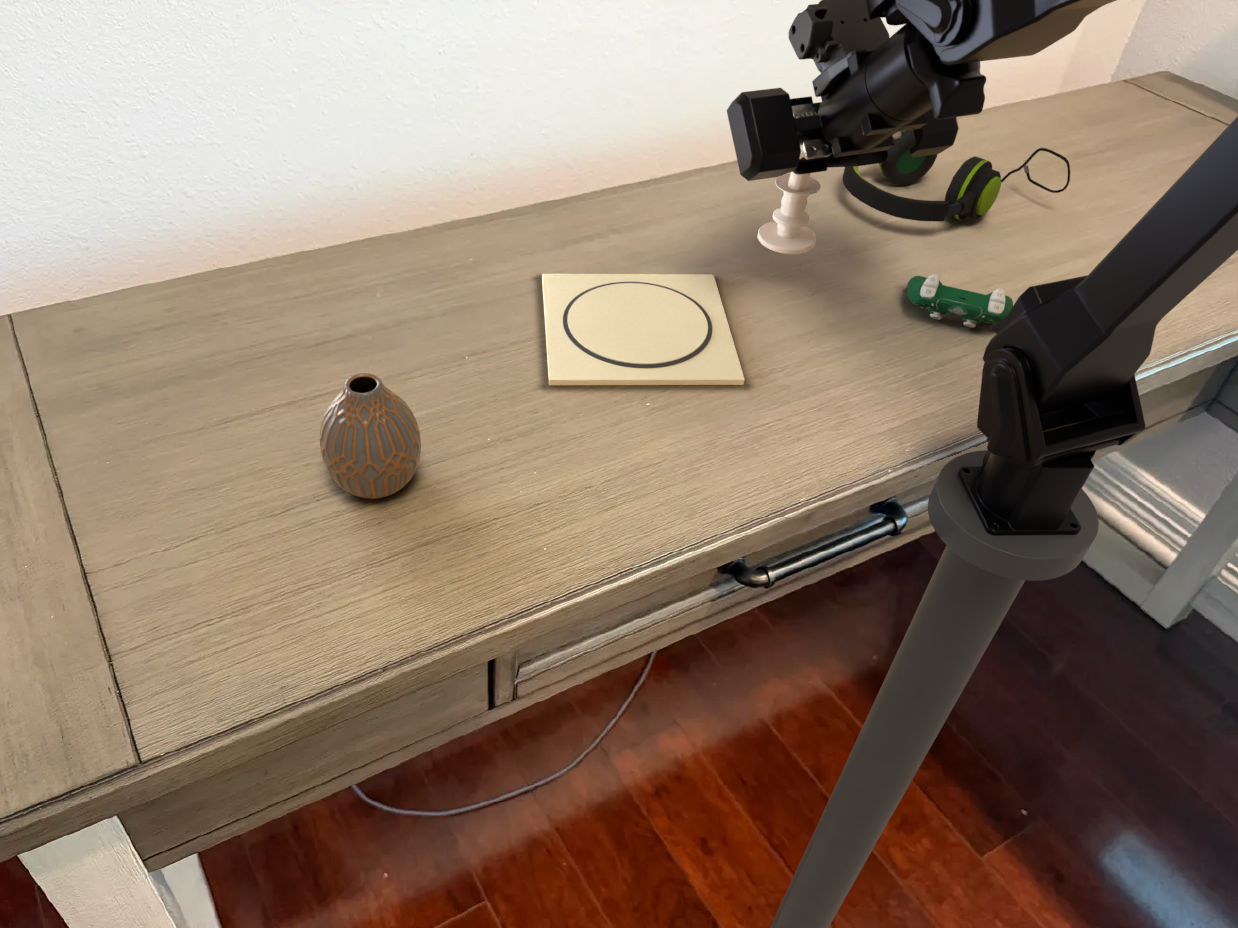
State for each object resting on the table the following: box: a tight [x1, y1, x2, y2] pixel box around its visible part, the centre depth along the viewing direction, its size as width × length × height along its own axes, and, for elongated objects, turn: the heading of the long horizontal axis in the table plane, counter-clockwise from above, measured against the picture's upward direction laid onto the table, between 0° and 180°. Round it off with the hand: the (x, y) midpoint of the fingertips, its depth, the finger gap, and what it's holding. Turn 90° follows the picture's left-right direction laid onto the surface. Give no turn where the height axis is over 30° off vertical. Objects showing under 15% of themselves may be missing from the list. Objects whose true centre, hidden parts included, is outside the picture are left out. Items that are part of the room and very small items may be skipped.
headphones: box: [841, 130, 1071, 222], centre depth 100 cm, size 16×10×20 cm
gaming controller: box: [906, 273, 1014, 328], centre depth 87 cm, size 9×4×6 cm
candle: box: [757, 172, 821, 255], centre depth 85 cm, size 5×5×10 cm
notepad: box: [541, 273, 746, 386], centre depth 85 cm, size 16×16×1 cm
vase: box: [319, 372, 422, 500], centre depth 68 cm, size 7×7×9 cm
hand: (792, 163), depth 85 cm, fingers closed on candle
